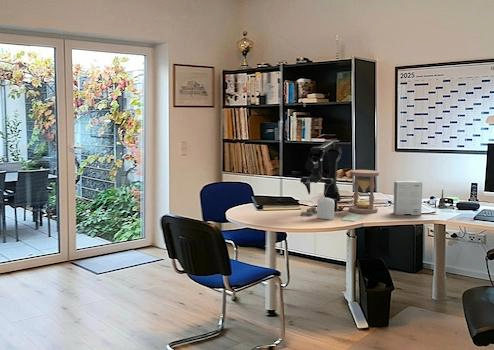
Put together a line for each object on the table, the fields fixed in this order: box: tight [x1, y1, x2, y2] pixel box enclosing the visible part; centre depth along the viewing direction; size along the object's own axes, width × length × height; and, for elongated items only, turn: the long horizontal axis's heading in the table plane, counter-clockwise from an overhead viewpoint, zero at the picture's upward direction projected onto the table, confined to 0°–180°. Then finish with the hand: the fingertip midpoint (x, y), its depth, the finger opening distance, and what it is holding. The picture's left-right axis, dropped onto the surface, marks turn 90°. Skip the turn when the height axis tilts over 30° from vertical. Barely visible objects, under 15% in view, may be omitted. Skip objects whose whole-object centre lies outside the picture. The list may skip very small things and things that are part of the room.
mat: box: [340, 213, 363, 222], centre depth 308 cm, size 18×8×1 cm, turn 155°
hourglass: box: [348, 169, 380, 215], centre depth 329 cm, size 18×18×25 cm
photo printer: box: [316, 197, 335, 221], centre depth 305 cm, size 10×4×12 cm, turn 56°
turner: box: [300, 206, 317, 217], centre depth 321 cm, size 15×6×3 cm, turn 155°
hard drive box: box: [393, 180, 423, 216], centre depth 321 cm, size 16×8×20 cm, turn 84°
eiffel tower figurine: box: [434, 189, 453, 210], centre depth 344 cm, size 15×10×13 cm
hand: (316, 194), depth 311 cm, fingers open, 9 cm apart
